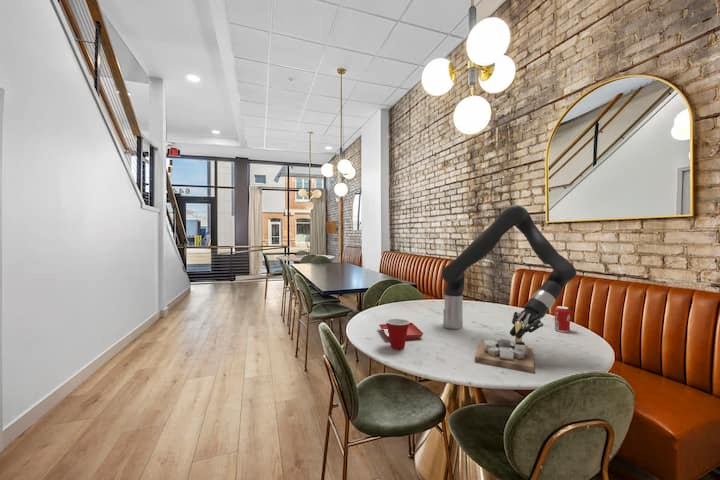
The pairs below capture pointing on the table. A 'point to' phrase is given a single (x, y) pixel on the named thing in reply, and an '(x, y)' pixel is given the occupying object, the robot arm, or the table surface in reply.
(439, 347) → the table surface
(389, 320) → the plastic cup
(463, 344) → the table surface
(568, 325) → the beverage can
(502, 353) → the ring nut
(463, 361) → the table surface
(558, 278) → the robot arm
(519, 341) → the brass pin
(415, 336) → the plant saucer
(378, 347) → the table surface
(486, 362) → the walnut base
